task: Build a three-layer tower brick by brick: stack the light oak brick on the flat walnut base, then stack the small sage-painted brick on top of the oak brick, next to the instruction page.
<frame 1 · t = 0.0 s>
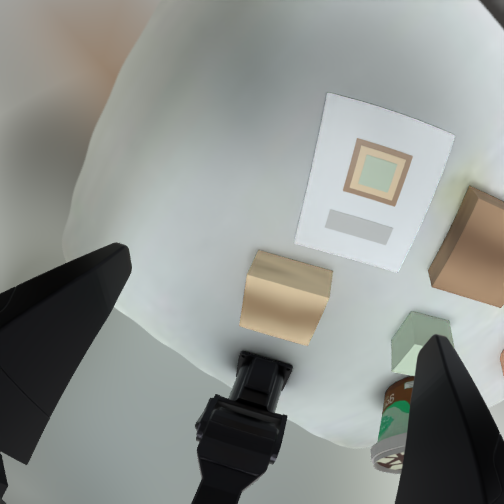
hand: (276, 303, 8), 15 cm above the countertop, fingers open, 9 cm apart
instruction page: (371, 191, 20), on the countertop
sage brick: (420, 330, 26), on the countertop
food container: (399, 392, 33), on the countertop
oak brick: (288, 286, 28), on the countertop
walnut base: (484, 242, 19), on the countertop
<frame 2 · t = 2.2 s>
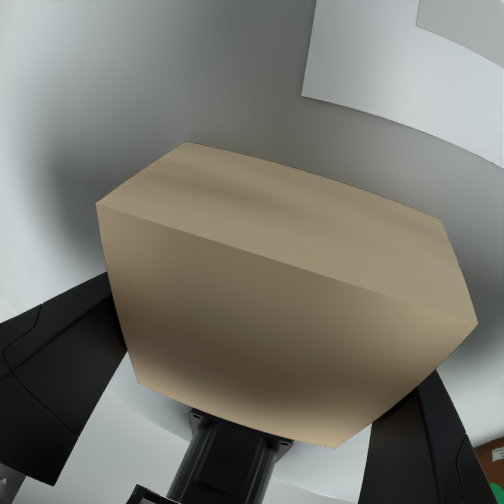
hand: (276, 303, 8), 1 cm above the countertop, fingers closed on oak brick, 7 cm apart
food container: (470, 456, 14), on the countertop
oak brick: (285, 274, 9), on the countertop, touching gripper
when the fingers open (4 cm above the countertop, at t = 6.9 s): oak brick drops 1 cm, point 2 cm above the countertop.
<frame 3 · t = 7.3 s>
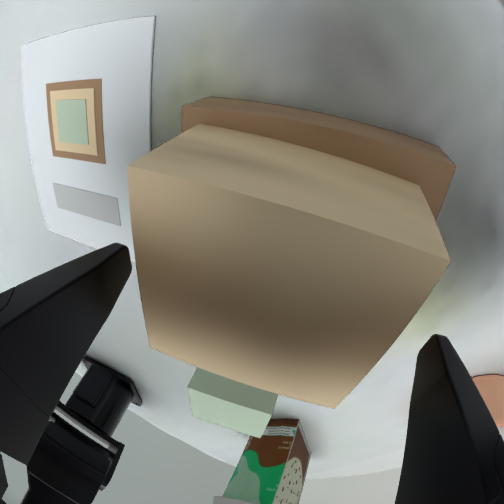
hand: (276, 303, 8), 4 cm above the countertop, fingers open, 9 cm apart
instruction page: (77, 149, 12), on the countertop
sage brick: (247, 362, 18), on the countertop
food container: (274, 433, 25), on the countertop
oak brick: (285, 242, 10), point 2 cm above the countertop
walnut base: (306, 210, 12), on the countertop
pepper shaker: (467, 399, 15), on the countertop
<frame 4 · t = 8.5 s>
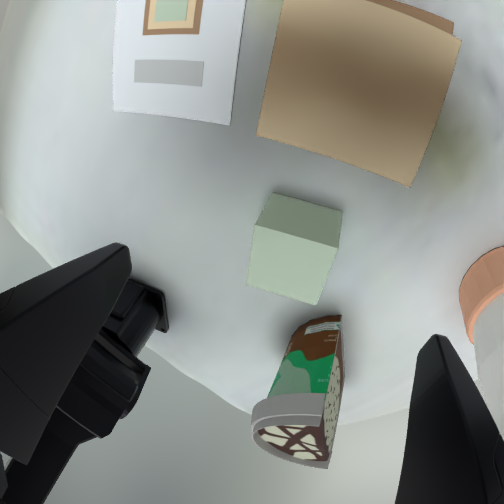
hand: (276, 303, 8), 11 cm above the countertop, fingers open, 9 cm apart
instruction page: (171, 27, 14), on the countertop
sage brick: (300, 230, 20), on the countertop
food container: (311, 346, 27), on the countertop
oak brick: (356, 76, 12), point 2 cm above the countertop, touching walnut base
walnut base: (359, 67, 13), on the countertop, touching oak brick
pepper shaker: (499, 283, 17), on the countertop
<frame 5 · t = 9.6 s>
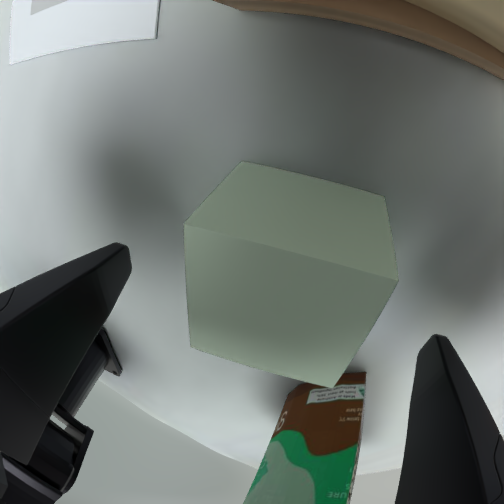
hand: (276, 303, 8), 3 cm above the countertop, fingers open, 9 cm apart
sage brick: (299, 235, 10), on the countertop
food container: (316, 407, 17), on the countertop
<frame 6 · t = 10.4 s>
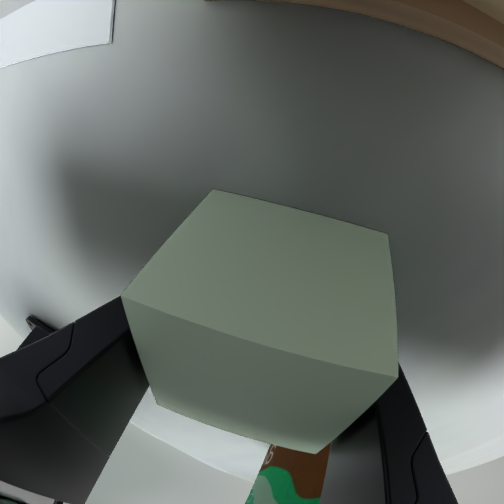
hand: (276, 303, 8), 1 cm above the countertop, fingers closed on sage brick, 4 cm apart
sage brick: (284, 277, 9), on the countertop, touching gripper
food container: (308, 435, 16), on the countertop
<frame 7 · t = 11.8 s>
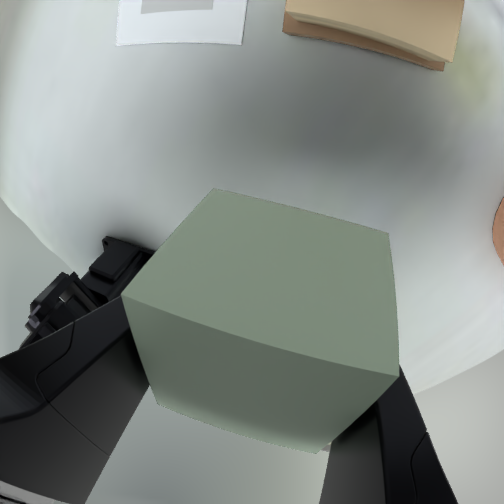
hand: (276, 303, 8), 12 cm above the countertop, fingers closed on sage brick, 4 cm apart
sage brick: (284, 277, 9), point 11 cm above the countertop, touching gripper
when the fingers open (8 cm above the countertop, at t = 13.8 s): sage brick drops 2 cm, point 5 cm above the countertop.
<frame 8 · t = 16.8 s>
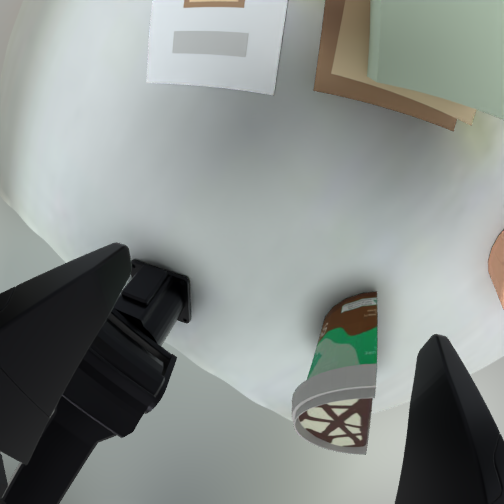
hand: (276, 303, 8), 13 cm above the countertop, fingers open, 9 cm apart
instruction page: (214, 0, 14), on the countertop
sage brick: (423, 38, 8), point 5 cm above the countertop
food container: (343, 328, 27), on the countertop
oak brick: (406, 34, 11), point 2 cm above the countertop, touching walnut base
walnut base: (392, 42, 13), on the countertop, touching oak brick
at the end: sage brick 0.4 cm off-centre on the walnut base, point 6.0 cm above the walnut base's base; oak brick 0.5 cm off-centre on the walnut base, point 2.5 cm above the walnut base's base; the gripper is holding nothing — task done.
